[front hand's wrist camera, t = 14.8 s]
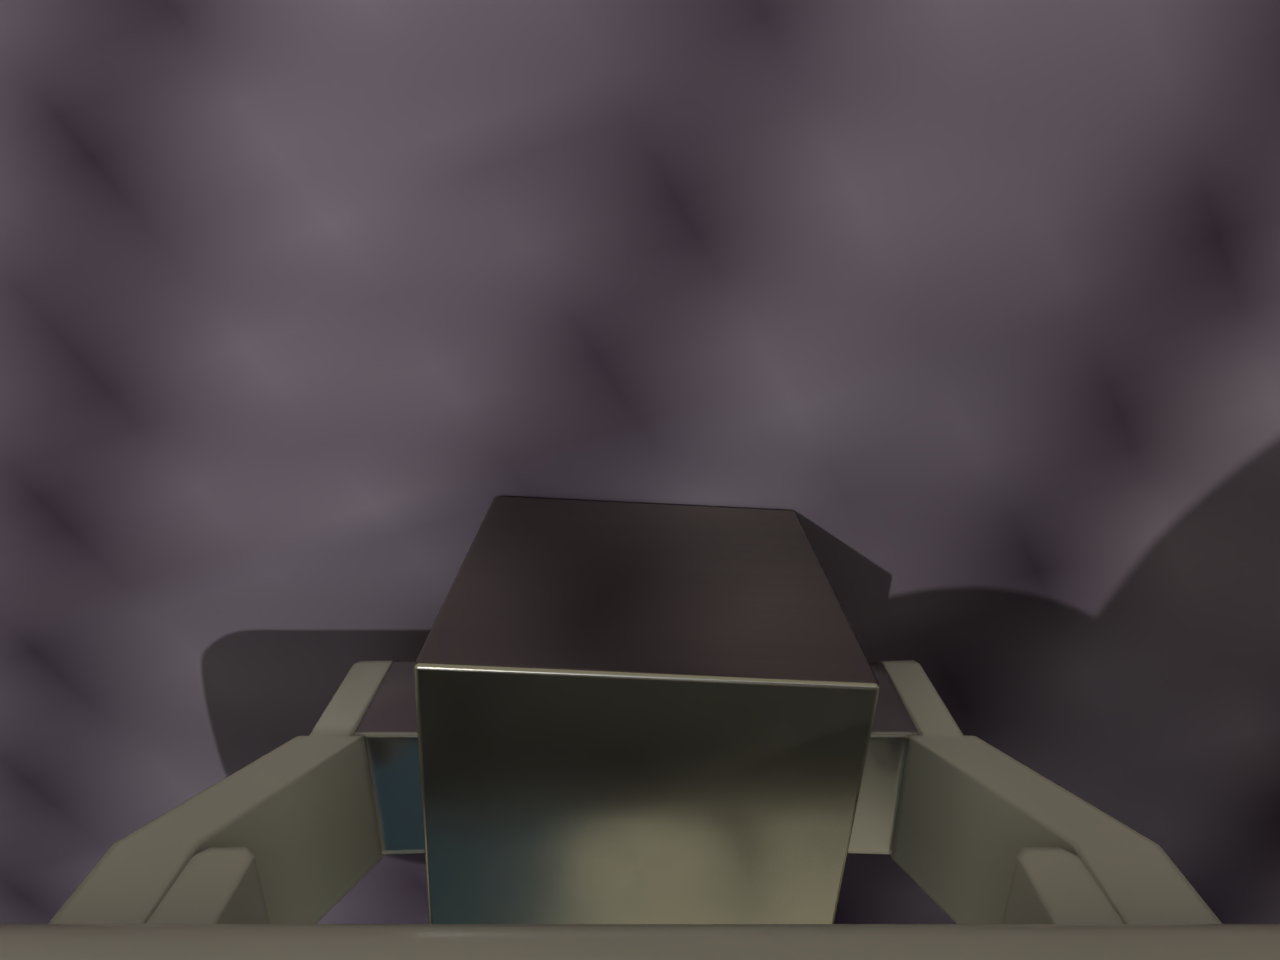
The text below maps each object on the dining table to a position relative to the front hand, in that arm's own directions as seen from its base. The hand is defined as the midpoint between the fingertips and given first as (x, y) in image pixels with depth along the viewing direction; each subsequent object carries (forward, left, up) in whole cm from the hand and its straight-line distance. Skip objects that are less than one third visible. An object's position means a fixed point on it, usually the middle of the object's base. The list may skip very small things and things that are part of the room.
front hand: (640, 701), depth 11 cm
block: (0, 0, -2) cm, 2 cm away
